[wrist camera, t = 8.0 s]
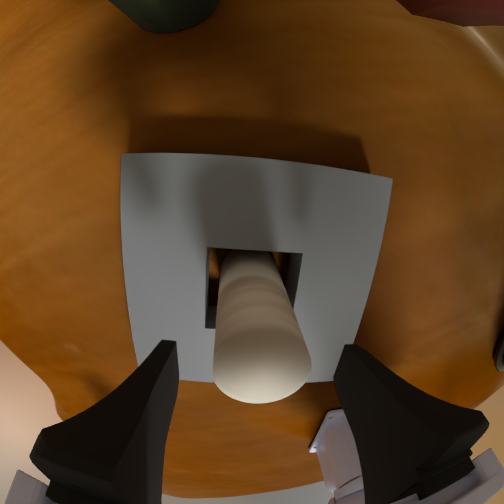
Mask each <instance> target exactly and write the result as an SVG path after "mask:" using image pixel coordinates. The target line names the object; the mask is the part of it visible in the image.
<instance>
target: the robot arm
mask: <svg viewBox="0 0 504 504" xmlns="http://www.w3.org/2000/svg"><path fill="white" fill-rule="evenodd" d="M333 379H334V384H335V388H336V392H337V396H338V398H339V401H340V404H341V406H342V409H338V410H331V411H329V412H328V413H327V414H326V416H325V419H324V421H323V423H322V425H321V427H320V429H319V431H318V433H317V435H316V437H315V439H314V441H313V443H312V445H311V447H310V449H309V451H310V452H317V455H318V459H319V462H320V466H321V470H322V474H323V478H324V481H325V484H326V487H327V488H328V489H329V490H330V491H331V492H332V493H334V496H335V497H333V498H331V499H330V501H329V503H328V504H485V503H486V502H487V501H488V500H489V499H491V497H493V496H494V495H495V494H496V493H497V492H499V491H500V490H501V489H502V488H503V487H504V468H503V466H502V465H501V463H500V461H499V460H498V459H497V457H496V455H495V453H494V452H493V450H492V449H491V448H489V449H488V450H486V451H485V452H483V453H482V454H480V455H479V456H477V457H476V458H475V459H473V460H471V459H470V456H471V455H472V451H471V449H470V448H471V447H472V446H473V445H474V444H475V443H476V442H477V441H478V440H479V438H480V437H481V436H482V435H483V434H484V433H485V431H486V430H487V428H488V426H489V422H488V420H487V419H486V417H485V416H484V415H483V413H482V412H481V411H478V410H473V409H469V408H464V407H460V406H457V405H454V404H451V403H448V402H445V401H443V400H440V399H438V398H436V397H433V396H431V395H429V394H427V393H425V392H423V391H421V390H420V389H418V388H416V387H414V386H413V385H411V384H409V383H408V382H406V381H405V380H403V379H402V378H401V377H399V376H398V375H396V374H395V373H394V372H392V371H391V370H390V369H388V368H387V367H386V366H384V365H383V364H382V363H381V362H379V361H378V360H377V359H376V358H374V357H373V356H372V355H371V354H369V353H368V352H367V351H366V350H364V349H363V348H362V347H360V346H359V345H358V344H345V345H344V348H343V351H342V353H341V356H340V359H339V362H338V365H337V368H336V370H335V373H334V376H333ZM178 383H179V365H178V354H177V342H176V341H172V340H163V339H162V340H161V341H160V342H159V343H158V344H157V346H156V347H155V348H154V349H153V351H152V352H151V353H150V354H149V355H148V357H147V358H146V359H145V360H144V361H143V362H142V363H141V364H140V366H139V367H138V368H137V369H136V370H135V371H134V372H133V373H132V374H131V375H130V376H129V377H128V378H127V379H126V380H125V381H124V382H123V383H122V384H121V385H119V386H118V387H117V388H116V389H115V390H114V391H112V392H111V393H110V394H109V395H107V396H106V397H105V398H103V399H102V400H100V401H99V402H97V403H96V404H95V405H93V406H91V407H90V408H88V409H87V410H85V411H83V412H81V413H79V414H77V415H75V416H74V417H72V418H70V419H67V420H65V421H63V422H60V423H58V424H55V425H52V426H50V427H47V428H44V429H42V430H41V432H40V434H39V435H38V438H37V440H36V442H35V444H34V446H33V449H32V451H31V453H30V459H31V461H32V463H33V464H34V465H35V466H36V467H37V468H38V469H39V470H40V471H41V472H42V473H43V474H44V475H45V476H46V477H47V478H48V479H50V480H51V481H50V484H49V486H47V485H46V484H45V483H43V482H41V481H39V480H37V479H35V478H34V477H32V476H30V475H28V474H26V473H24V472H23V471H21V470H17V472H16V475H15V477H14V480H13V482H12V485H11V488H10V490H9V493H8V496H7V499H6V502H5V504H161V496H162V476H163V463H164V453H165V444H166V439H167V434H168V430H169V426H170V422H171V418H172V414H173V410H174V406H175V402H176V398H177V391H178Z"/></svg>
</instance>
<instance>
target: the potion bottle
mask: <svg viewBox="0 0 504 504" xmlns="http://www.w3.org/2000/svg"><path fill="white" fill-rule="evenodd" d="M109 1H110V2H111V3H112V4H114V5H115V6H116V7H117V8H119V9H120V10H121V11H122V12H123V13H125V14H126V15H127V16H128V17H129V18H130V19H132V20H133V21H134V22H135V23H136V24H137V25H138V26H140V27H141V28H142V29H144V30H148V31H152V32H155V33H166V32H177V31H180V30H183V29H186V28H189V27H192V26H195V25H196V24H198V23H199V22H201V21H202V20H204V19H205V18H207V17H208V16H210V14H211V13H212V12H213V11H214V9H215V8H216V7H217V5H218V4H219V1H220V0H109Z"/></svg>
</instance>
